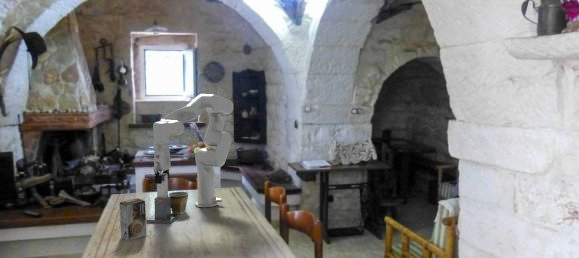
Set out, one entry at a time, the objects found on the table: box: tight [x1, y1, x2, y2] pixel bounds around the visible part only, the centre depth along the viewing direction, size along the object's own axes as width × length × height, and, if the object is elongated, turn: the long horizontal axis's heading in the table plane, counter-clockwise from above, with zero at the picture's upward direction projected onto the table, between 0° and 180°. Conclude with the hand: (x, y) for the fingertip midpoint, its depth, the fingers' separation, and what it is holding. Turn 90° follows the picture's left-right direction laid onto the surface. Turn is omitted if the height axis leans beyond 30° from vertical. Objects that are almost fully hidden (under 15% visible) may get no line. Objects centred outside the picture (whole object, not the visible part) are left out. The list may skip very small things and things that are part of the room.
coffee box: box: [119, 198, 147, 242], centre depth 201 cm, size 9×6×16 cm
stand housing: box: [146, 195, 180, 225], centre depth 226 cm, size 12×12×12 cm
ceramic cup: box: [168, 191, 189, 215], centre depth 240 cm, size 13×10×10 cm
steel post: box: [156, 172, 169, 198], centre depth 225 cm, size 4×4×16 cm
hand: (162, 181), depth 225 cm, fingers open, 9 cm apart
